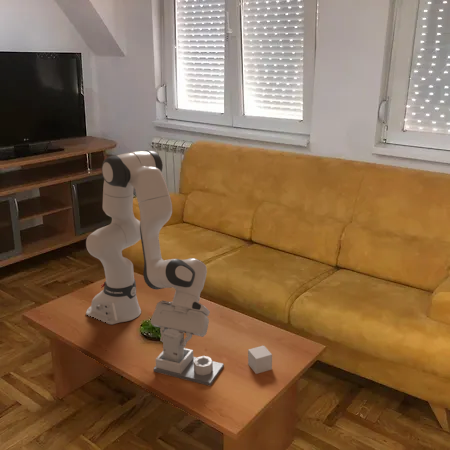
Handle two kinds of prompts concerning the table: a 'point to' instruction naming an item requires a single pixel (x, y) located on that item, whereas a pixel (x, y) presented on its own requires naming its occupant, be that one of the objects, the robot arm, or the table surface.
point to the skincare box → (173, 345)
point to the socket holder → (190, 368)
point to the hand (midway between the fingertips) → (172, 343)
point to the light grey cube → (259, 359)
